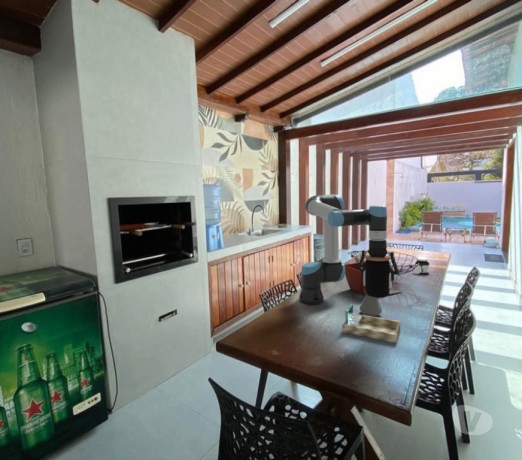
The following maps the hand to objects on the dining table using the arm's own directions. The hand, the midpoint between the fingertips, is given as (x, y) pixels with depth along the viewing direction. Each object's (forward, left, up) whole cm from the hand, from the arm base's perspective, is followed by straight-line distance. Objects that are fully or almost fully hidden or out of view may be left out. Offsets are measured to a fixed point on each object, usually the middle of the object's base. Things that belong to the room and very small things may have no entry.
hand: (377, 286), depth 140 cm
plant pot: (-18, +57, -23) cm, 64 cm away
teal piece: (-11, +1, -22) cm, 24 cm away
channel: (-3, +1, -23) cm, 23 cm away
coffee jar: (0, 0, -4) cm, 4 cm away
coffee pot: (-2, +20, -23) cm, 31 cm away
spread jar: (+13, +116, -23) cm, 119 cm away
